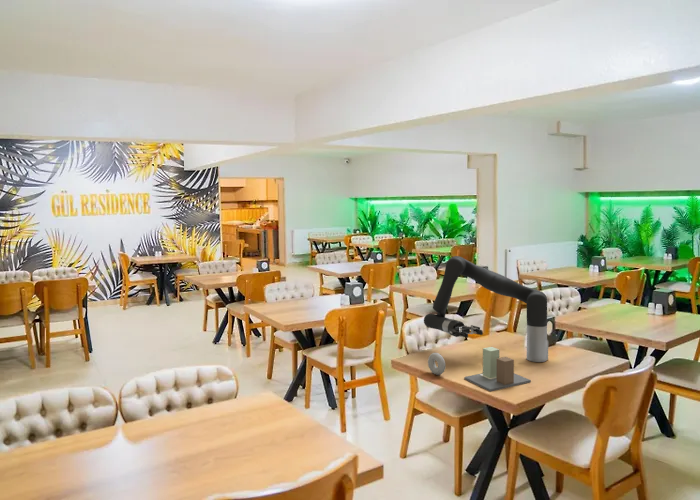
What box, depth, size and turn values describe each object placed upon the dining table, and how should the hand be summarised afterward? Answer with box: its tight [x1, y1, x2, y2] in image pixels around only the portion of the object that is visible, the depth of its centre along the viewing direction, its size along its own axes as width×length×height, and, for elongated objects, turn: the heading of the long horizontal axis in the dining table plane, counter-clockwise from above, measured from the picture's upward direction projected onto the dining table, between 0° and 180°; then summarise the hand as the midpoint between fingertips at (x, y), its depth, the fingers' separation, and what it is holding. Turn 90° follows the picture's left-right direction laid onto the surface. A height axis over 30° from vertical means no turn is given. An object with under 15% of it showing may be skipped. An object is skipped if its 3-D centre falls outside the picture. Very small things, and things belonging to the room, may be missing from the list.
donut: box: [427, 352, 446, 376], centre depth 241 cm, size 10×4×10 cm, turn 34°
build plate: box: [463, 356, 532, 392], centre depth 231 cm, size 22×17×11 cm
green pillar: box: [482, 346, 500, 378], centre depth 234 cm, size 5×5×12 cm
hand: (474, 334), depth 247 cm, fingers open, 8 cm apart
